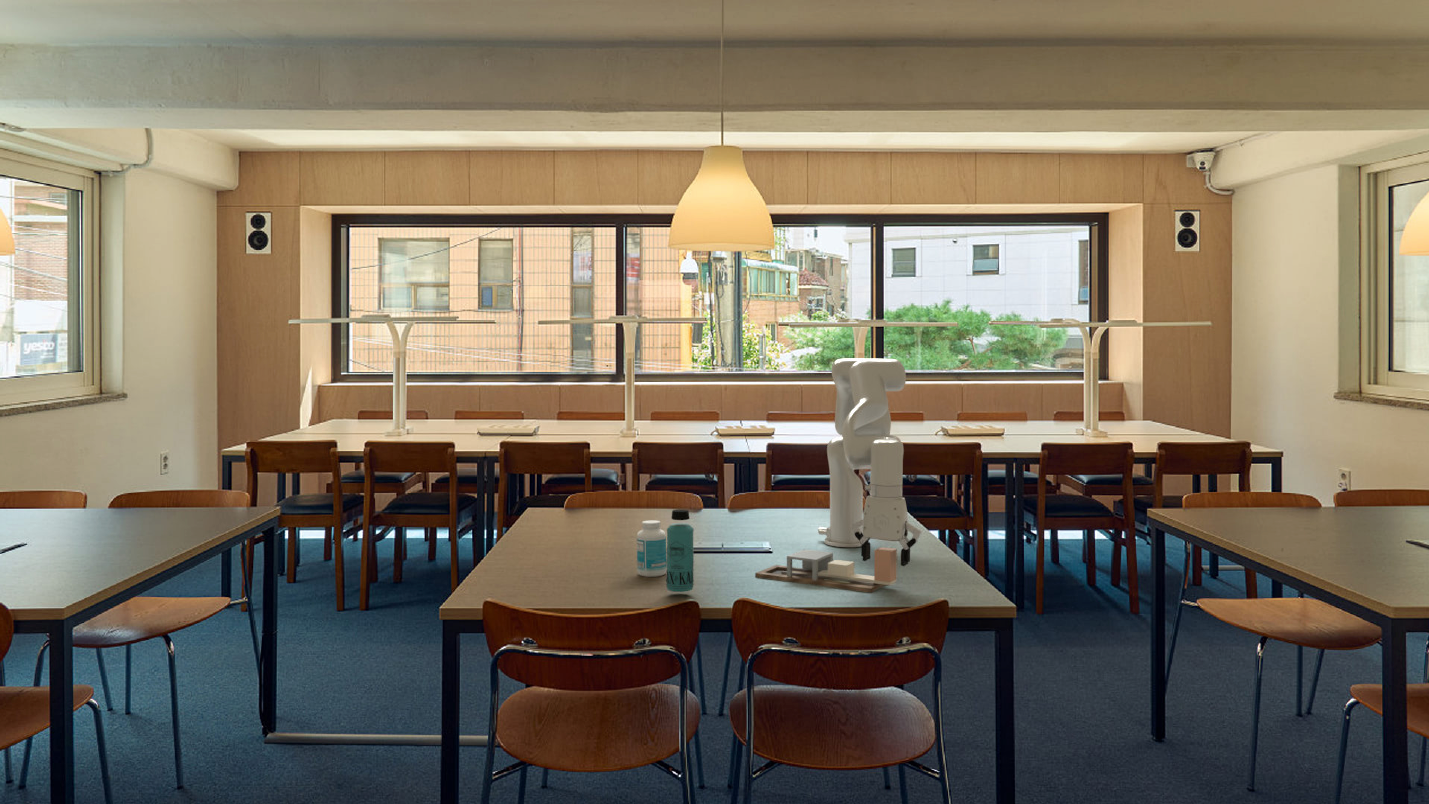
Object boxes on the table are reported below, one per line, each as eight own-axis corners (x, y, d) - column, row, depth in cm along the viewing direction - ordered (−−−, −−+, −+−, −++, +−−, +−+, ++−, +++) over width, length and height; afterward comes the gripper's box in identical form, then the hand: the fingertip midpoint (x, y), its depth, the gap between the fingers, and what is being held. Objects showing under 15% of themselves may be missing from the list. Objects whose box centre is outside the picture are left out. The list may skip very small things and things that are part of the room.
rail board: (755, 577, 246) (755, 570, 246) (776, 568, 255) (776, 562, 255) (870, 592, 230) (870, 586, 230) (888, 583, 239) (888, 576, 239)
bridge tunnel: (786, 576, 242) (786, 556, 242) (804, 569, 250) (804, 549, 250) (816, 580, 238) (816, 559, 238) (832, 572, 246) (832, 552, 246)
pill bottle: (670, 572, 252) (670, 520, 251) (659, 578, 245) (659, 524, 244) (643, 570, 254) (643, 518, 253) (632, 576, 247) (632, 523, 246)
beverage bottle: (665, 592, 231) (665, 507, 230) (693, 591, 231) (693, 507, 230) (666, 598, 224) (666, 512, 223) (695, 598, 225) (695, 511, 224)
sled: (816, 576, 241) (816, 544, 240) (824, 572, 245) (824, 540, 244) (889, 585, 231) (890, 552, 230) (896, 581, 235) (897, 548, 234)
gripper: (846, 490, 234) (845, 561, 235) (915, 497, 225) (914, 570, 226) (858, 486, 240) (858, 555, 242) (926, 492, 231) (925, 563, 233)
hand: (885, 562), depth 234 cm, fingers open, 9 cm apart
